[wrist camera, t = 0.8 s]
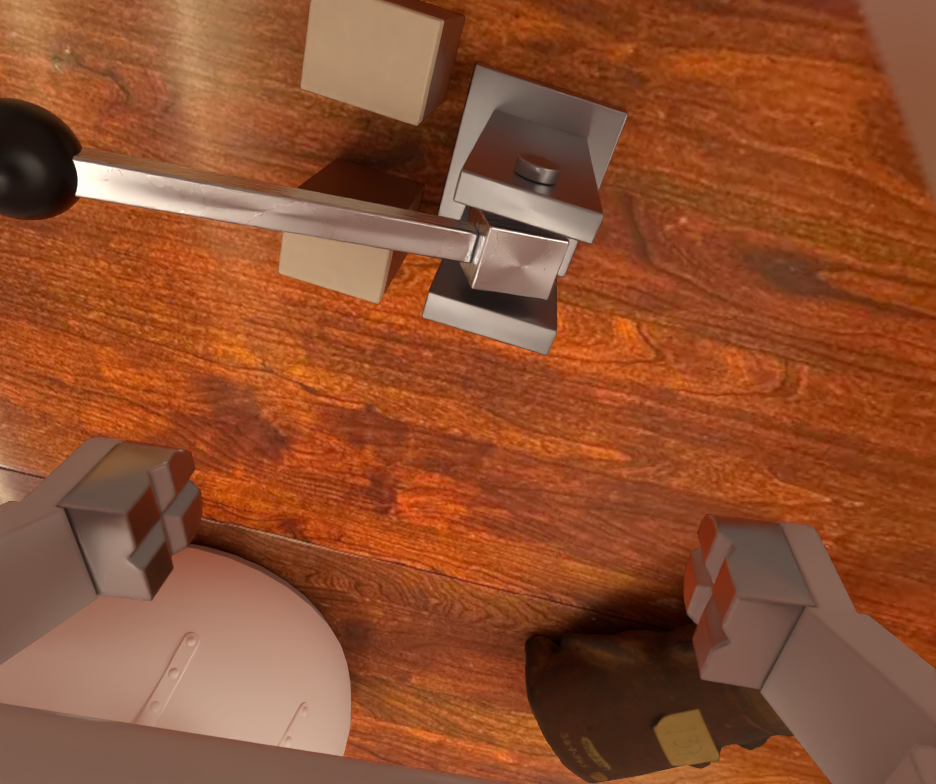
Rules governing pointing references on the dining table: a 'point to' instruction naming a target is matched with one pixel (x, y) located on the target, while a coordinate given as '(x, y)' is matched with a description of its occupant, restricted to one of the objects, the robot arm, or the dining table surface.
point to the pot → (197, 659)
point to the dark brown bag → (638, 704)
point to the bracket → (522, 191)
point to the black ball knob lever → (259, 205)
